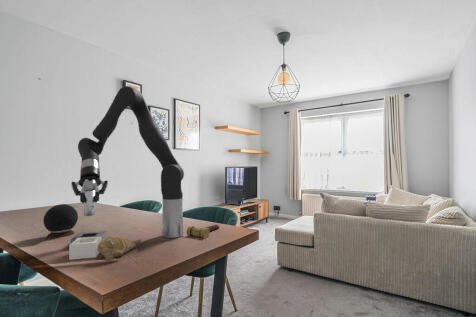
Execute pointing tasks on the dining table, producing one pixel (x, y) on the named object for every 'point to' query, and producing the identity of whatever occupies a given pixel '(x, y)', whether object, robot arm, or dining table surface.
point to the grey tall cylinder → (89, 198)
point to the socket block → (90, 235)
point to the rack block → (84, 248)
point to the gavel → (201, 231)
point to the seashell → (114, 246)
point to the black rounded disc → (60, 221)
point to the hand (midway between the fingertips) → (89, 201)
